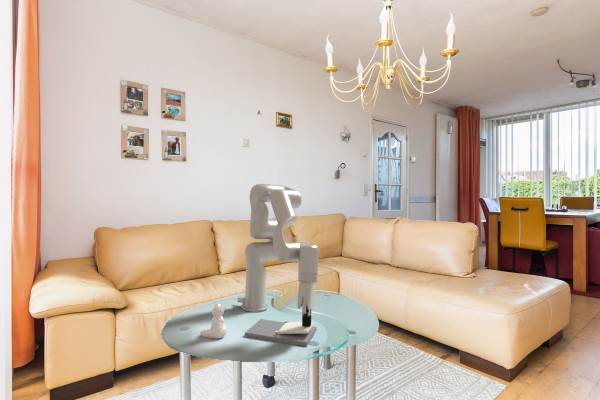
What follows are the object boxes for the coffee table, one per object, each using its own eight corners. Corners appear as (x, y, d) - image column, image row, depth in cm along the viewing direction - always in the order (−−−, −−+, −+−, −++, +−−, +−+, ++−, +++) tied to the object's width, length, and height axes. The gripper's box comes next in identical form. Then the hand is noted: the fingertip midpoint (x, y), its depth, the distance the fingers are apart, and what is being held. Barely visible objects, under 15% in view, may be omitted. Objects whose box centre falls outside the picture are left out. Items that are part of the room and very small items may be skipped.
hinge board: (244, 336, 123) (245, 328, 123) (260, 322, 138) (261, 315, 139) (306, 346, 117) (307, 338, 117) (316, 330, 132) (316, 323, 132)
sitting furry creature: (220, 329, 129) (221, 298, 129) (234, 335, 124) (235, 303, 124) (199, 335, 122) (200, 303, 122) (212, 342, 116) (214, 308, 117)
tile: (307, 330, 120) (307, 333, 120) (313, 321, 130) (313, 324, 130) (279, 331, 123) (279, 334, 123) (286, 322, 132) (287, 325, 132)
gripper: (303, 273, 134) (301, 318, 133) (293, 280, 119) (291, 331, 119) (321, 274, 132) (320, 320, 131) (313, 281, 117) (311, 333, 117)
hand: (306, 325), depth 125 cm, fingers closed
